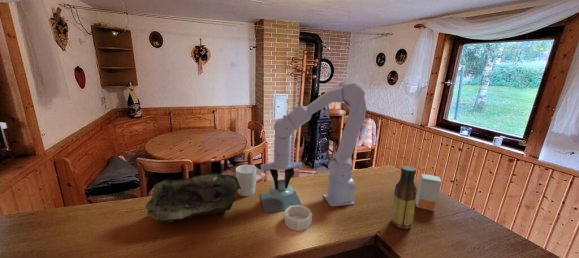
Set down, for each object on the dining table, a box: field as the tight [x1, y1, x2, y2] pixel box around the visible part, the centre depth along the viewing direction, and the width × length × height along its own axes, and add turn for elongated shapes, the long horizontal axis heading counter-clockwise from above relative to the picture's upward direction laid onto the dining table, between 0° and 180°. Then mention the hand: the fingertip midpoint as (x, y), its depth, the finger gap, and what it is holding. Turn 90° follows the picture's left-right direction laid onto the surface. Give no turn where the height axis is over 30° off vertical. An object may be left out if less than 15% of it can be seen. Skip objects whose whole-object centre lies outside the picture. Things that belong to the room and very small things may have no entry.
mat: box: [259, 190, 303, 214], centre depth 88 cm, size 14×12×1 cm
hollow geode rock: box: [144, 172, 241, 225], centre depth 79 cm, size 28×13×15 cm
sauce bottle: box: [391, 165, 418, 230], centre depth 75 cm, size 7×6×20 cm
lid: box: [268, 179, 295, 197], centre depth 86 cm, size 9×9×4 cm
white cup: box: [235, 164, 257, 197], centre depth 93 cm, size 8×8×10 cm
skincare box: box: [415, 173, 443, 212], centre depth 87 cm, size 6×4×12 cm
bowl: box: [283, 204, 313, 232], centre depth 76 cm, size 8×8×4 cm
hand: (281, 187), depth 87 cm, fingers closed on lid, 3 cm apart
